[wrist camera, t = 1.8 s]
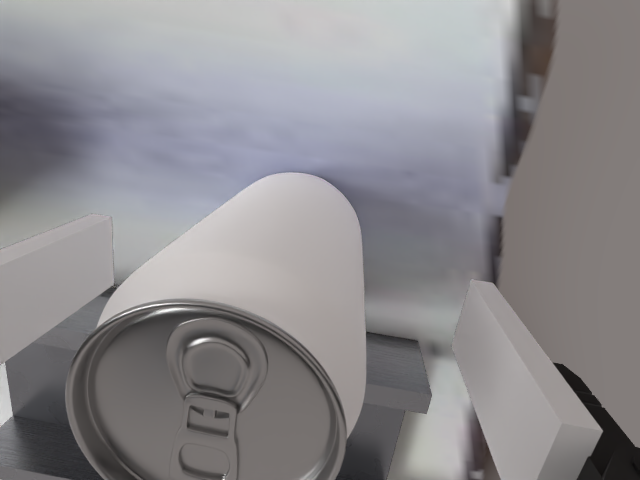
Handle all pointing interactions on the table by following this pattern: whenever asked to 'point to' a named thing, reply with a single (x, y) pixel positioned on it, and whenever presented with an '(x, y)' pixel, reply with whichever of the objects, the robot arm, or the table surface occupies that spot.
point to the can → (232, 346)
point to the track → (79, 475)
